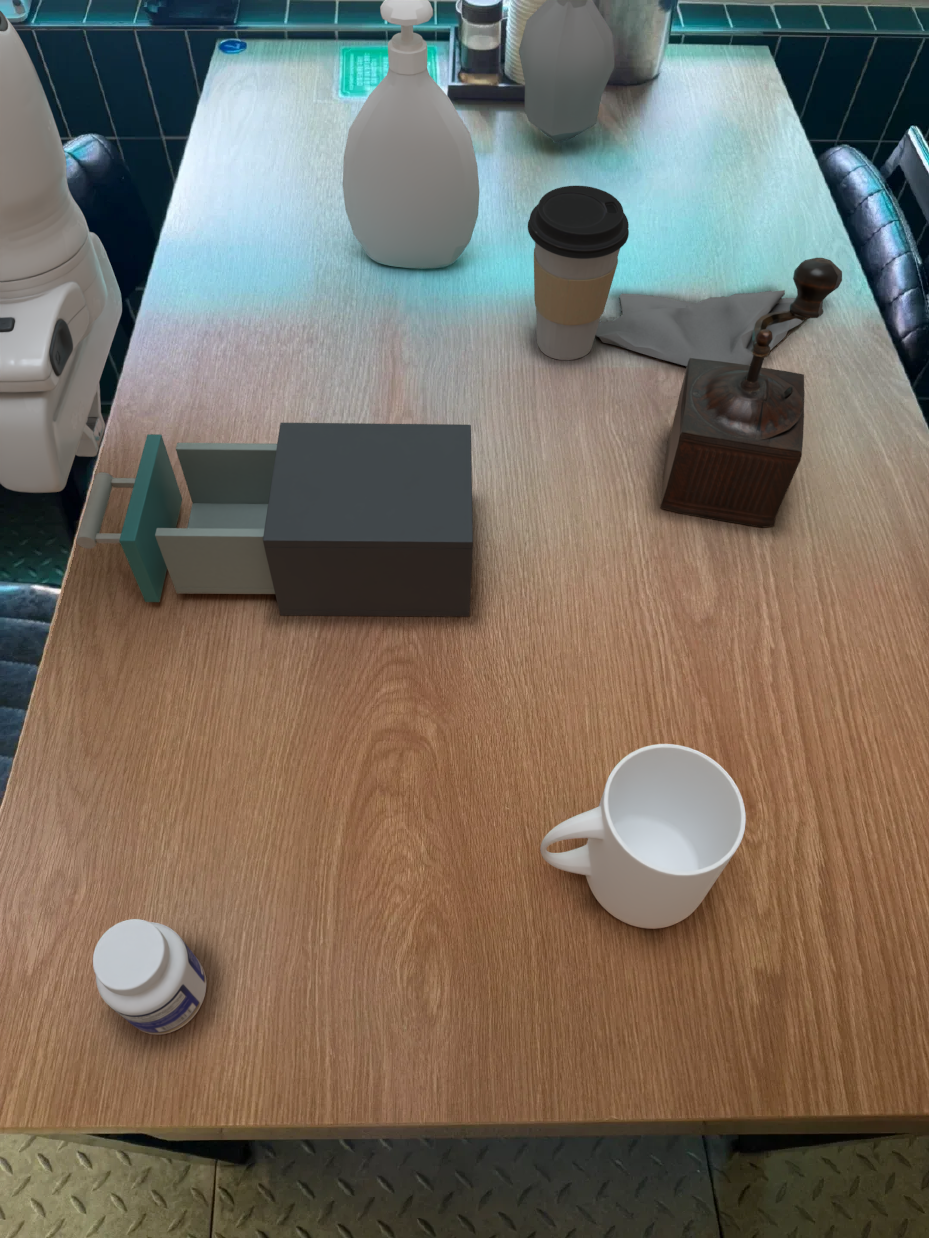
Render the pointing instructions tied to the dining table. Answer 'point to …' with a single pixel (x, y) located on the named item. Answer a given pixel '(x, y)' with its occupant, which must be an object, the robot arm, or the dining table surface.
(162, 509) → the teal drawer
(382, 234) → the soap bottle
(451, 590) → the drawer cabinet
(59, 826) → the dining table surface
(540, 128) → the bottle
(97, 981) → the pill bottle
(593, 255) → the coffee cup
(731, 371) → the manual coffee grinder
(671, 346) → the cloth
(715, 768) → the mug
